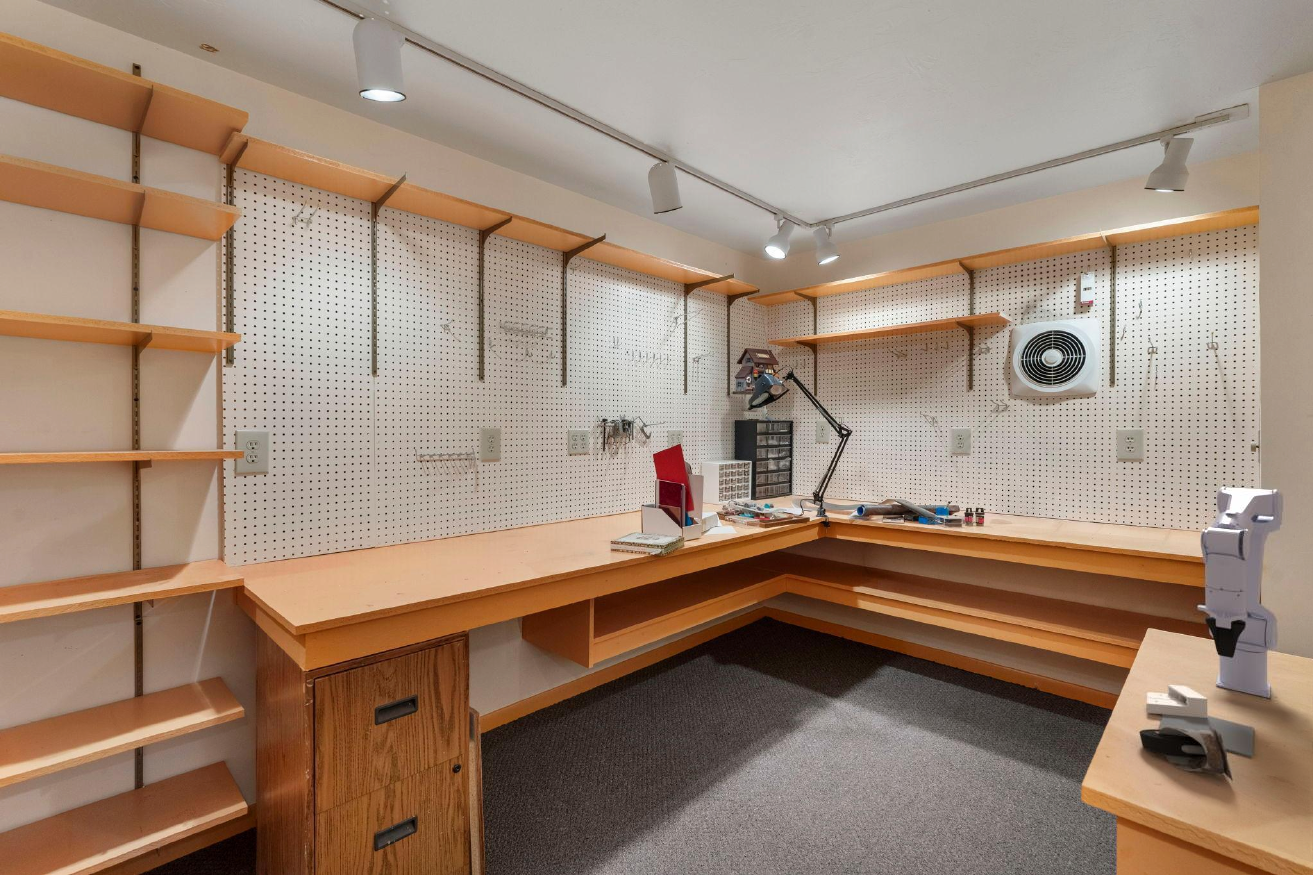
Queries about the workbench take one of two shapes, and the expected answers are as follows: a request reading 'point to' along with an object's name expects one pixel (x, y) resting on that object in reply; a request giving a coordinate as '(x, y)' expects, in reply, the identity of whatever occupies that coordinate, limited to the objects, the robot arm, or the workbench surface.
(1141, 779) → the workbench surface
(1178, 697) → the white angled block
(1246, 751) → the rubber mat
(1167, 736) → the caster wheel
